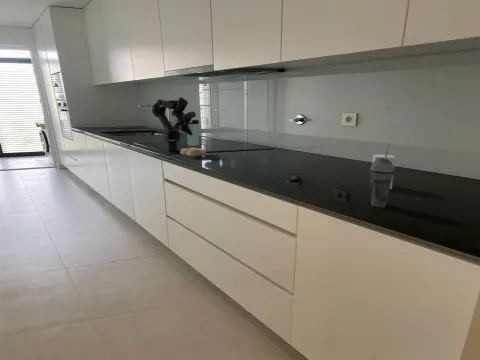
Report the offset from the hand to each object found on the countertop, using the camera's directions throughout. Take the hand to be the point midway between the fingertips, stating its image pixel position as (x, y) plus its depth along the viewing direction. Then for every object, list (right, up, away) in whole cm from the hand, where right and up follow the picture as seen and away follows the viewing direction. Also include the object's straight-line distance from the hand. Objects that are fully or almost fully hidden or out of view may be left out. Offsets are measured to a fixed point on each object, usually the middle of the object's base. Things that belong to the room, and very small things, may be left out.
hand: (194, 134), depth 208 cm
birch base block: (-2, -12, +4) cm, 13 cm away
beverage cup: (+74, -37, -99) cm, 129 cm away
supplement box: (+84, -31, -76) cm, 118 cm away
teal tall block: (-1, -6, +2) cm, 7 cm away
